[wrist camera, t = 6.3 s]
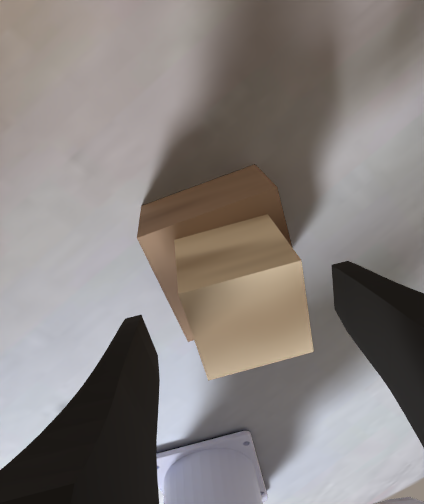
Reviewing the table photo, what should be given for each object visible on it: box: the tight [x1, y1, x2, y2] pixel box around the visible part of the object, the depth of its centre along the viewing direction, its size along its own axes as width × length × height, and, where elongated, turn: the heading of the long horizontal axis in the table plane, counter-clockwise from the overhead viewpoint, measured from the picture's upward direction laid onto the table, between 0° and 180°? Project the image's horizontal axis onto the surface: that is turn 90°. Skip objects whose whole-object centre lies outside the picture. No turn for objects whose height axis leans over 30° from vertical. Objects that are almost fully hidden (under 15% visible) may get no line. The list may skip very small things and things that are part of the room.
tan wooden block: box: [137, 164, 292, 342], centre depth 17 cm, size 6×6×4 cm
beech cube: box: [174, 214, 314, 380], centre depth 14 cm, size 4×4×4 cm
